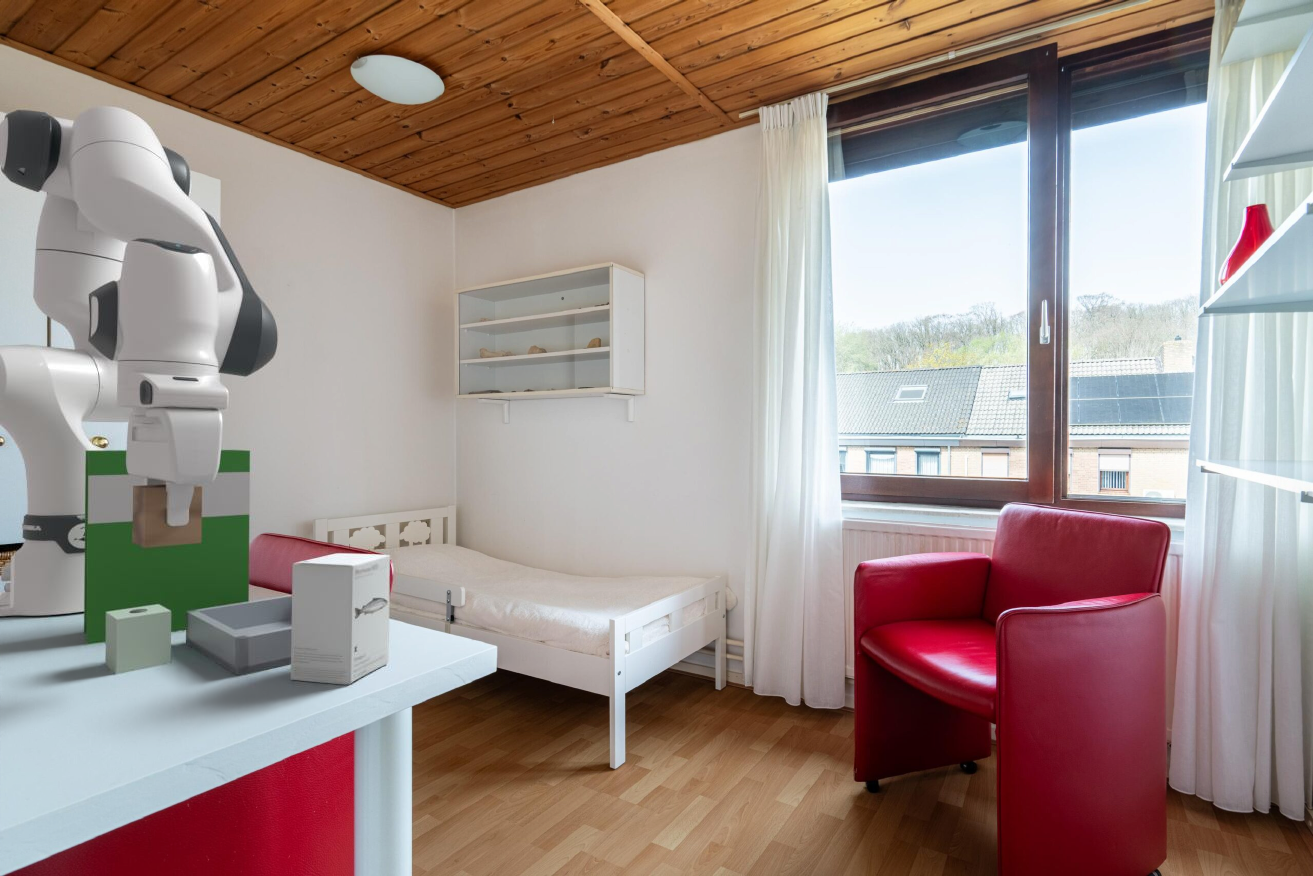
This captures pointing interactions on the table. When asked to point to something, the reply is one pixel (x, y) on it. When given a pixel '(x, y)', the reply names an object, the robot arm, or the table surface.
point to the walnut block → (151, 518)
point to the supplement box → (339, 617)
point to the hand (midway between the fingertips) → (167, 522)
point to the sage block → (138, 638)
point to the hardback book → (163, 572)
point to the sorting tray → (243, 634)
